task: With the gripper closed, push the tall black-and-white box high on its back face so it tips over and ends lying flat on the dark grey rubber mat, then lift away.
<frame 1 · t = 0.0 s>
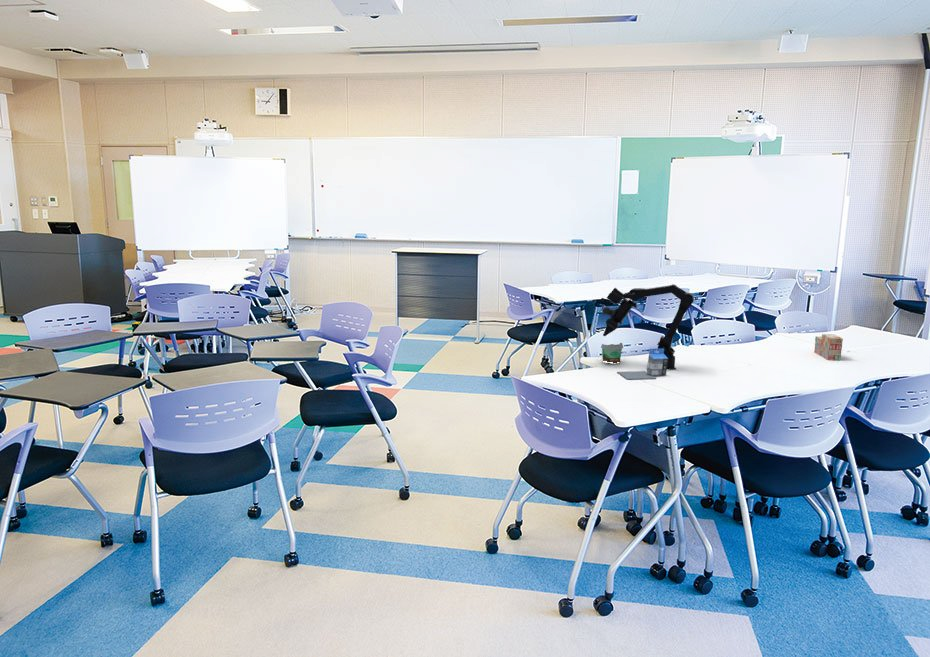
hand: (605, 334, 330), 15 cm above the table, tool tilted 35°, fingers open, 9 cm apart
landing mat: (636, 375, 305), on the table
printed cardboard box: (826, 357, 351), on the table
label tape cartridge: (656, 375, 306), on the table, touching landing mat
food container: (613, 363, 332), on the table
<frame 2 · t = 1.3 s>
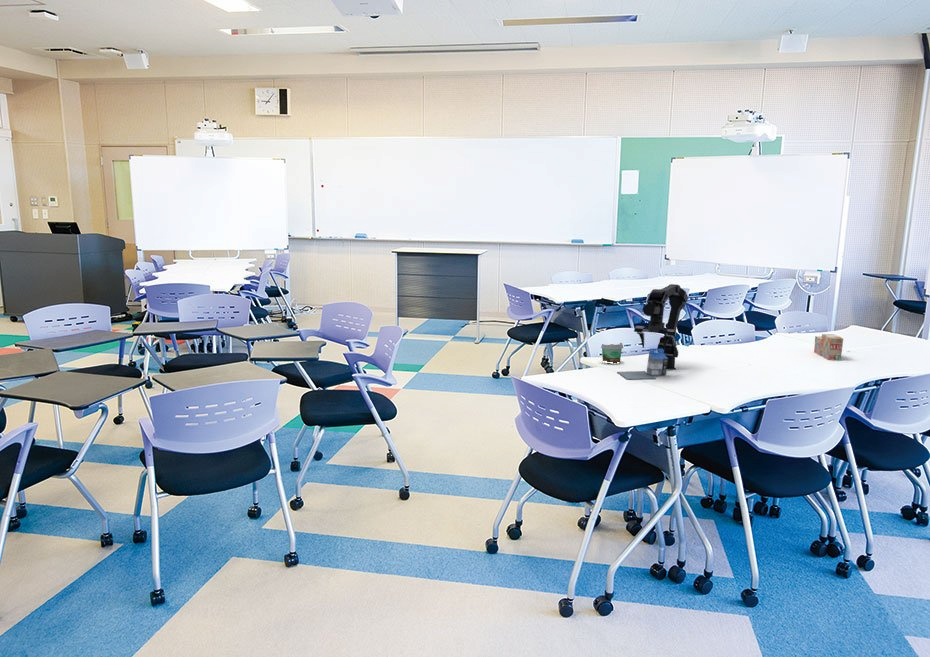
hand: (653, 348, 305), 13 cm above the table, tool pointing down, fingers open, 9 cm apart
label tape cartridge: (656, 375, 306), on the table, touching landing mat
everything else where it was.
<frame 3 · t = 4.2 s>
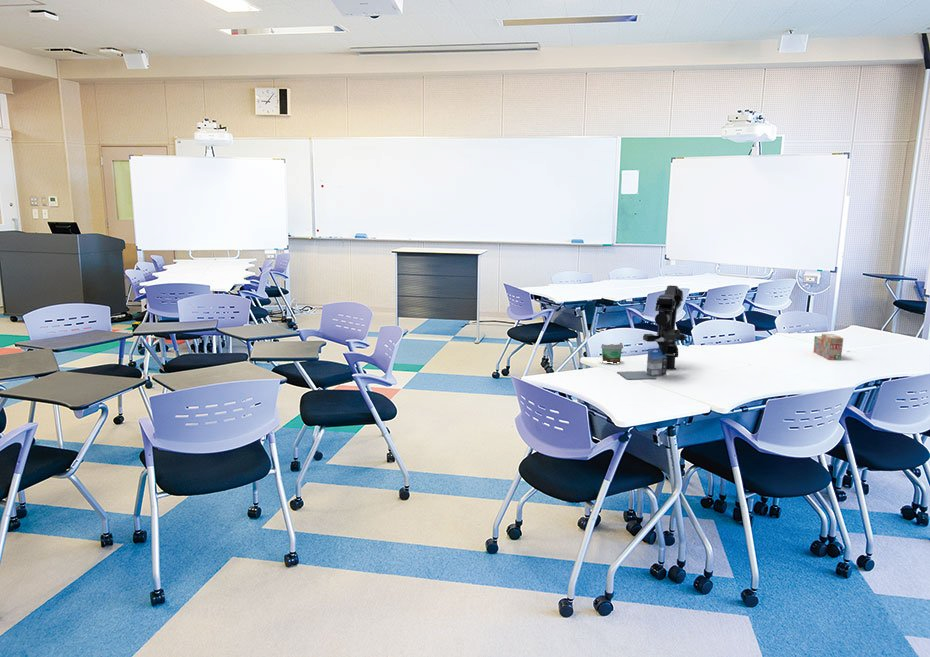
hand: (663, 355, 305), 10 cm above the table, tool pointing down, fingers closed, pressing on label tape cartridge
label tape cartridge: (656, 374, 306), on the table, touching gripper, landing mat
everything else where it was.
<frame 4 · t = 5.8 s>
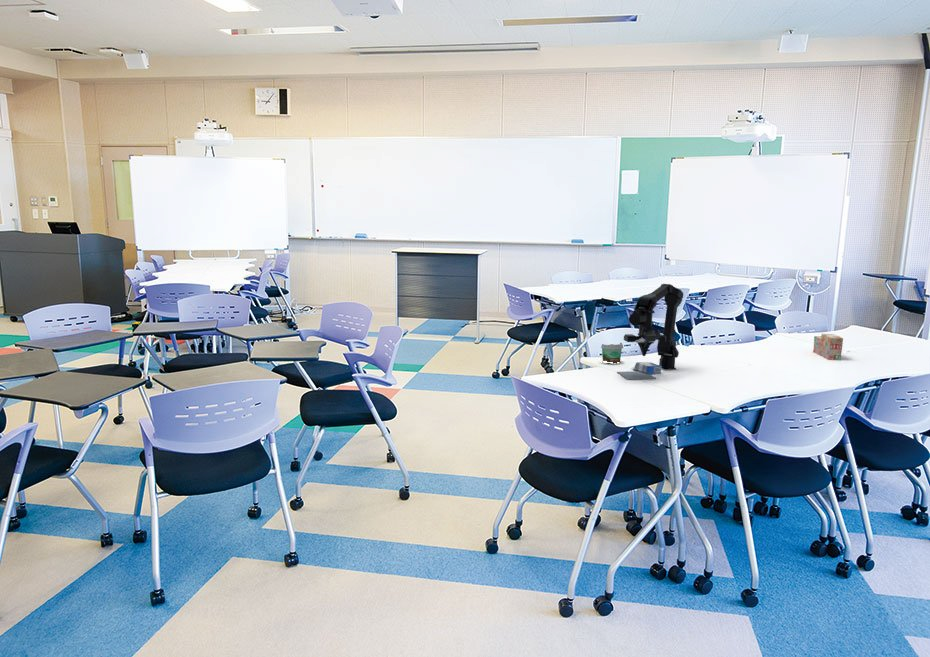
hand: (643, 355, 304), 10 cm above the table, tool pointing down, fingers closed
label tape cartridge: (654, 369, 308), point 2 cm above the table, touching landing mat
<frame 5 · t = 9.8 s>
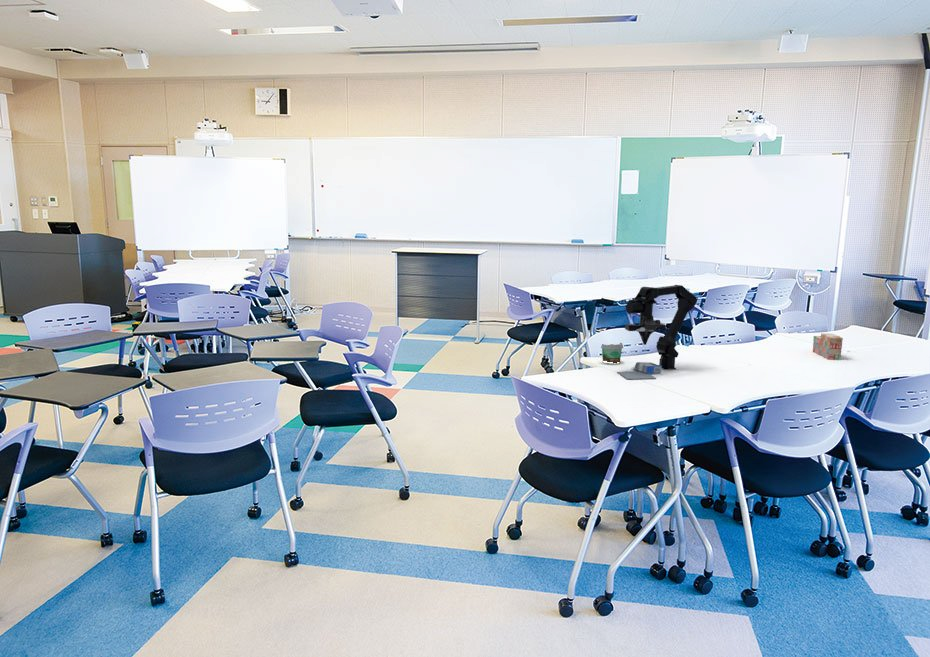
hand: (644, 344, 314), 13 cm above the table, tool pointing down, fingers closed
at the end: label tape cartridge tilted 89°; label tape cartridge touching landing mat, table; the gripper is holding nothing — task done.
